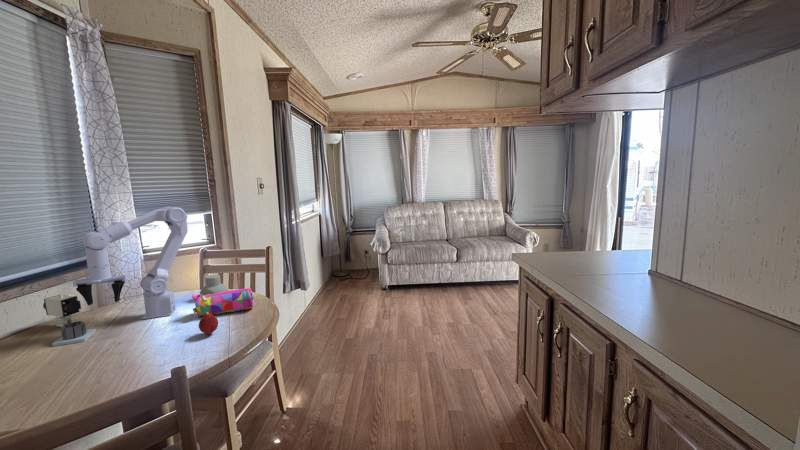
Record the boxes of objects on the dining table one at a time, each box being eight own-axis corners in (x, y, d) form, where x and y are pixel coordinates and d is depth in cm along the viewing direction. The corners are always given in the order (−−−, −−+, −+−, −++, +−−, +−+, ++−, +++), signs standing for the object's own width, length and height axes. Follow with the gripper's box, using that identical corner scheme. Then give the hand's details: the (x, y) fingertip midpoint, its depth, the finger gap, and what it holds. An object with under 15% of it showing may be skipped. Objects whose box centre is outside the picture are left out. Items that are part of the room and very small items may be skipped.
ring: (88, 331, 114) (87, 320, 113) (81, 337, 109) (79, 326, 108) (68, 334, 112) (66, 323, 111) (59, 341, 107) (57, 329, 106)
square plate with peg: (95, 331, 115) (94, 320, 115) (84, 341, 108) (83, 330, 108) (66, 335, 112) (64, 325, 112) (52, 346, 105) (50, 334, 105)
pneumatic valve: (69, 329, 117) (64, 297, 116) (45, 326, 120) (40, 295, 118) (86, 323, 123) (82, 292, 121) (64, 320, 125) (59, 290, 124)
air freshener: (231, 294, 152) (229, 274, 150) (218, 301, 144) (216, 279, 142) (211, 293, 154) (209, 273, 153) (197, 299, 146) (194, 278, 144)
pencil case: (192, 321, 123) (189, 298, 122) (196, 312, 131) (194, 291, 130) (254, 311, 132) (253, 290, 130) (254, 303, 140) (253, 283, 139)
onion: (222, 332, 113) (220, 310, 112) (207, 339, 108) (205, 316, 107) (211, 329, 116) (209, 308, 115) (196, 336, 111) (193, 314, 109)
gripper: (65, 271, 108) (71, 309, 110) (119, 266, 114) (124, 303, 115) (76, 266, 114) (82, 302, 116) (127, 261, 120) (132, 296, 122)
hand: (104, 302), depth 116 cm, fingers open, 7 cm apart
